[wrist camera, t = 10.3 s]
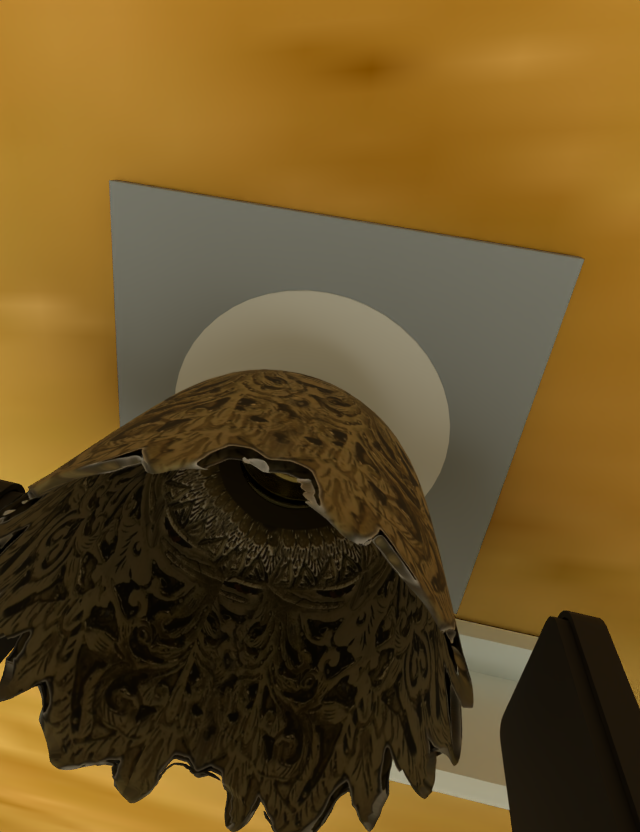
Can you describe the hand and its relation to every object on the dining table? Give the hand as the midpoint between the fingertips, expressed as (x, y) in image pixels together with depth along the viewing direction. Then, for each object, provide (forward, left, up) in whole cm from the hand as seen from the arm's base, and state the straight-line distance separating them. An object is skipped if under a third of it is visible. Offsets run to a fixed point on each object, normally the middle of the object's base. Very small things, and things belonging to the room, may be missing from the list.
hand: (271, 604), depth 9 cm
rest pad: (0, 0, -6) cm, 6 cm away
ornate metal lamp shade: (0, +1, -6) cm, 6 cm away
